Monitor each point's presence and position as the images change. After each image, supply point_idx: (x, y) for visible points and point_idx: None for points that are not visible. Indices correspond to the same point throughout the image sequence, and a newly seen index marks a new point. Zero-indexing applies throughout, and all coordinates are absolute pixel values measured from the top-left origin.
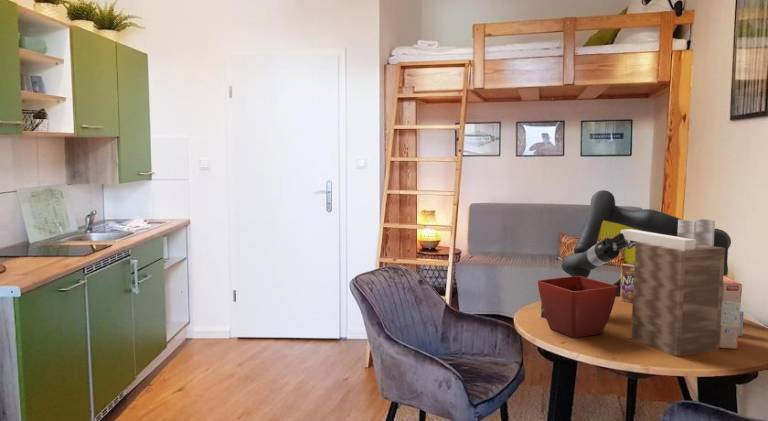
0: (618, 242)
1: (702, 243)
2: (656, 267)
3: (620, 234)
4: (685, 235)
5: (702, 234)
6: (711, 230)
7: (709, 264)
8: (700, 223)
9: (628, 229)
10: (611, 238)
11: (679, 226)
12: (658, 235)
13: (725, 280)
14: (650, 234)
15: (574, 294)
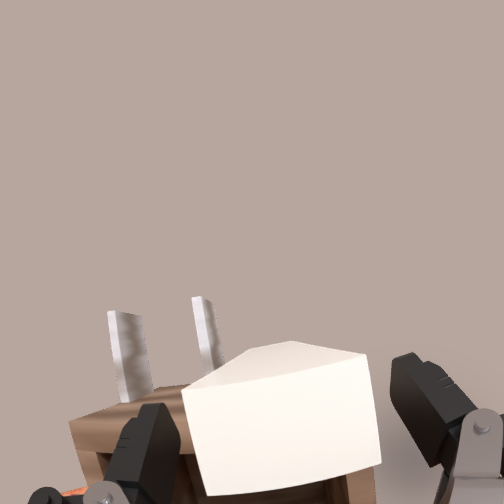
0: (425, 456)
1: (140, 393)
2: None
3: (414, 363)
4: (217, 351)
5: (134, 363)
6: (144, 345)
7: None
8: (124, 326)
9: (240, 380)
10: (492, 420)
11: (206, 322)
12: (288, 345)
13: None
14: (300, 344)
15: None
